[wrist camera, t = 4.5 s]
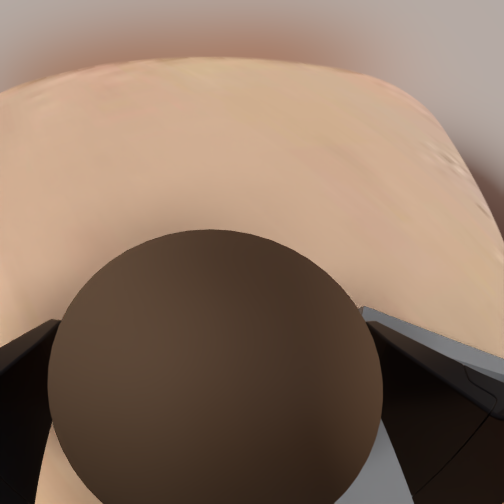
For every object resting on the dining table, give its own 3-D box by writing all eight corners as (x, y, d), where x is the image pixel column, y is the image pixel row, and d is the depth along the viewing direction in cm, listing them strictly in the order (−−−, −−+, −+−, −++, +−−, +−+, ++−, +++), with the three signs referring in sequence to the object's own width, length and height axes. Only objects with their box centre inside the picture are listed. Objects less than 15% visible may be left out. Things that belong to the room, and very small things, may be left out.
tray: (427, 575, 8) (448, 586, 5) (225, 584, 8) (229, 611, 5) (503, 374, 15) (531, 369, 13) (338, 319, 16) (364, 305, 13)
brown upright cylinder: (179, 441, 12) (118, 562, 2) (149, 348, 14) (28, 273, 4) (276, 413, 13) (413, 468, 3) (244, 322, 15) (313, 201, 5)
